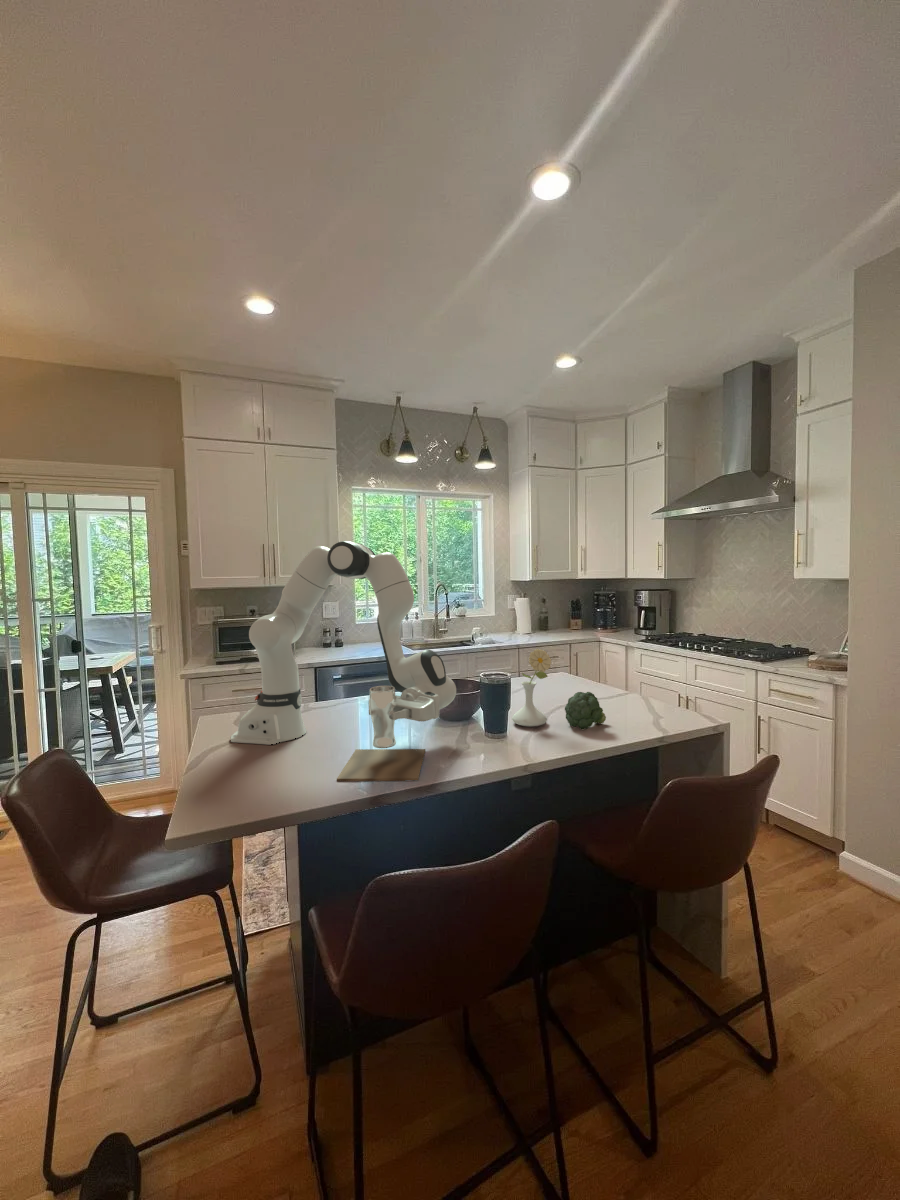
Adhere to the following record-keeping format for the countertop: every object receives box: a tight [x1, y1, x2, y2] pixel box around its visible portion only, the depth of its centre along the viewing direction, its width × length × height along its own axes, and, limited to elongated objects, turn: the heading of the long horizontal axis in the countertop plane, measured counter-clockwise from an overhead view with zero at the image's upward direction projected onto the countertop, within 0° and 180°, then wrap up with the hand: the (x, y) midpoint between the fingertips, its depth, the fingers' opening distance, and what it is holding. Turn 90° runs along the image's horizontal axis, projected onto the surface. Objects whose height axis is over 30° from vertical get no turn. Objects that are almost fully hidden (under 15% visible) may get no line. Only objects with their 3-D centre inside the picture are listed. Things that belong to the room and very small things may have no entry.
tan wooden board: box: [336, 748, 426, 782], centre depth 131 cm, size 20×20×1 cm
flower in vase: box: [511, 648, 552, 727], centre depth 162 cm, size 13×11×25 cm
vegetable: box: [564, 691, 607, 730], centre depth 159 cm, size 12×13×15 cm
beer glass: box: [368, 685, 397, 749], centre depth 130 cm, size 7×7×15 cm
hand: (381, 714), depth 130 cm, fingers closed on beer glass, 6 cm apart
